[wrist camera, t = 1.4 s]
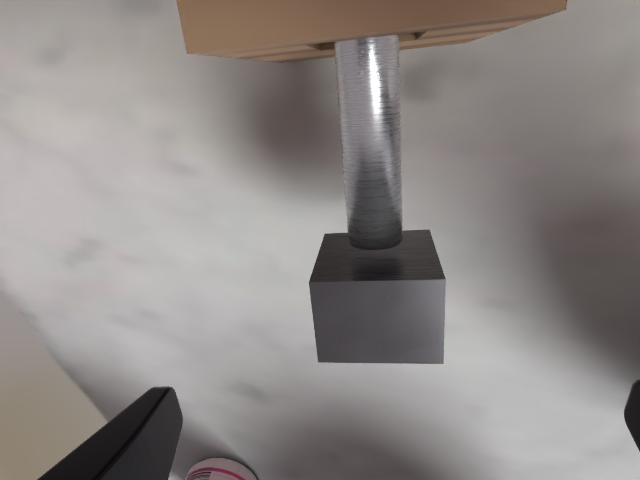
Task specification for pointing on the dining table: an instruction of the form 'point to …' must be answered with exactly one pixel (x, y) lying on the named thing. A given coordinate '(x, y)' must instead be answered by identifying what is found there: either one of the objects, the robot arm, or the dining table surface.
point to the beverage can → (219, 470)
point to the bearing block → (343, 24)
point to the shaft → (375, 230)
